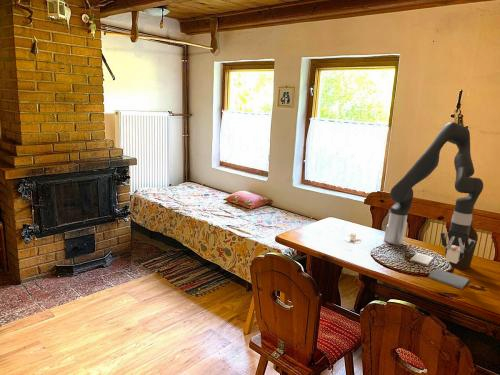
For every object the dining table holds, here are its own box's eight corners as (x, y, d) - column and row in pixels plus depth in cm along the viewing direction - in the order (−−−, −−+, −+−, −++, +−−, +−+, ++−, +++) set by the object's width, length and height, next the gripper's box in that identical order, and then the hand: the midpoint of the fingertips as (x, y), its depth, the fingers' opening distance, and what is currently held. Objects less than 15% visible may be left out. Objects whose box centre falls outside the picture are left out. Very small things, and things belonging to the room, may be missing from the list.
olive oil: (461, 271, 179) (472, 222, 173) (442, 262, 188) (452, 215, 182) (475, 268, 183) (487, 220, 177) (456, 259, 193) (466, 213, 187)
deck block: (450, 254, 171) (452, 244, 170) (461, 258, 169) (463, 247, 167) (445, 260, 165) (447, 249, 164) (456, 263, 162) (458, 252, 161)
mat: (428, 277, 169) (428, 275, 169) (436, 270, 178) (436, 268, 178) (461, 289, 160) (462, 287, 160) (468, 280, 169) (469, 279, 169)
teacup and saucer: (359, 239, 212) (360, 232, 212) (362, 244, 205) (363, 237, 204) (344, 237, 213) (345, 231, 212) (346, 243, 205) (347, 236, 204)
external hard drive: (409, 262, 187) (416, 255, 196) (427, 267, 182) (433, 260, 191) (410, 259, 186) (417, 252, 196) (427, 264, 181) (433, 257, 191)
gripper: (481, 224, 161) (473, 261, 165) (446, 216, 170) (439, 250, 174) (477, 228, 155) (469, 265, 159) (441, 219, 165) (434, 254, 169)
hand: (453, 257), depth 167 cm, fingers closed on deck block, 4 cm apart
